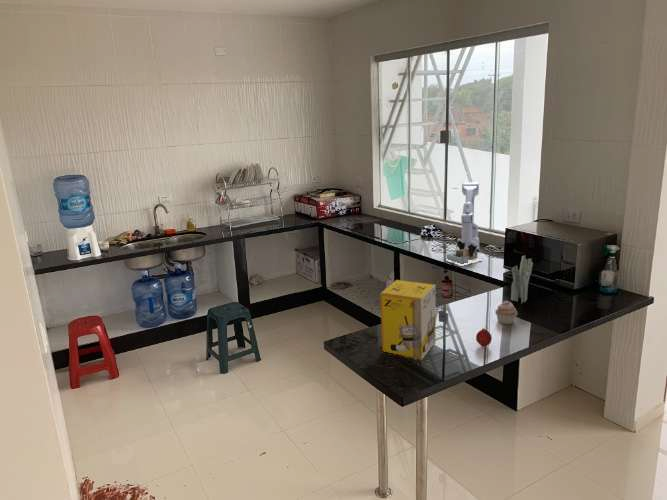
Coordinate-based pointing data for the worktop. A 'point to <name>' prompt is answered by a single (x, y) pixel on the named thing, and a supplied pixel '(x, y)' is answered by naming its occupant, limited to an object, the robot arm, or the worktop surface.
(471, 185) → the robot arm
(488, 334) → the onion
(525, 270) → the pale green stalk cluster
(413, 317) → the packaging box
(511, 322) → the cupcake
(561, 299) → the worktop surface
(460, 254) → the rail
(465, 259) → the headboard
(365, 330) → the worktop surface
